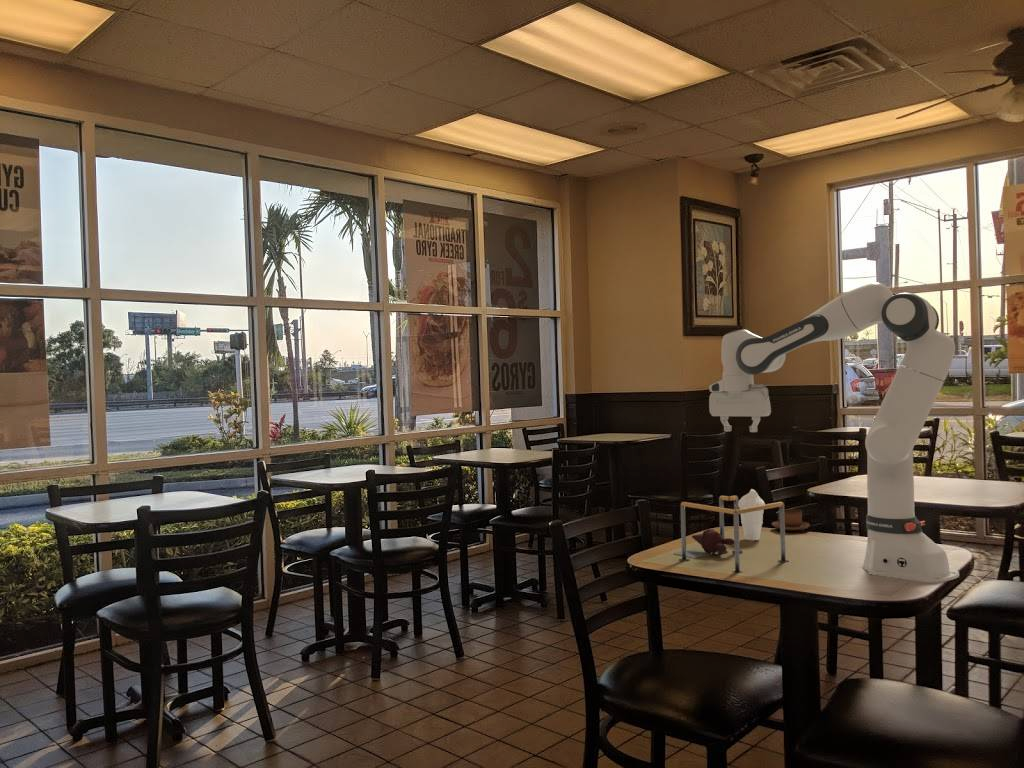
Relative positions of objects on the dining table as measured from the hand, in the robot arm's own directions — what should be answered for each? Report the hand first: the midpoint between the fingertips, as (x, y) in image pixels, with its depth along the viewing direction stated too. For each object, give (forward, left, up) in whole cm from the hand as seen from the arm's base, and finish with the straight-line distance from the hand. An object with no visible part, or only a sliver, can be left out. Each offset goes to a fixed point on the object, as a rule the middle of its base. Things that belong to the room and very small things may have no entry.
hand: (740, 431), depth 236 cm
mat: (+7, +14, -36) cm, 39 cm away
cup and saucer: (+12, -38, -36) cm, 53 cm away
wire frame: (-6, +12, -36) cm, 38 cm away
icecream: (+11, +10, -31) cm, 35 cm away
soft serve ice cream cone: (+10, -15, -36) cm, 40 cm away
